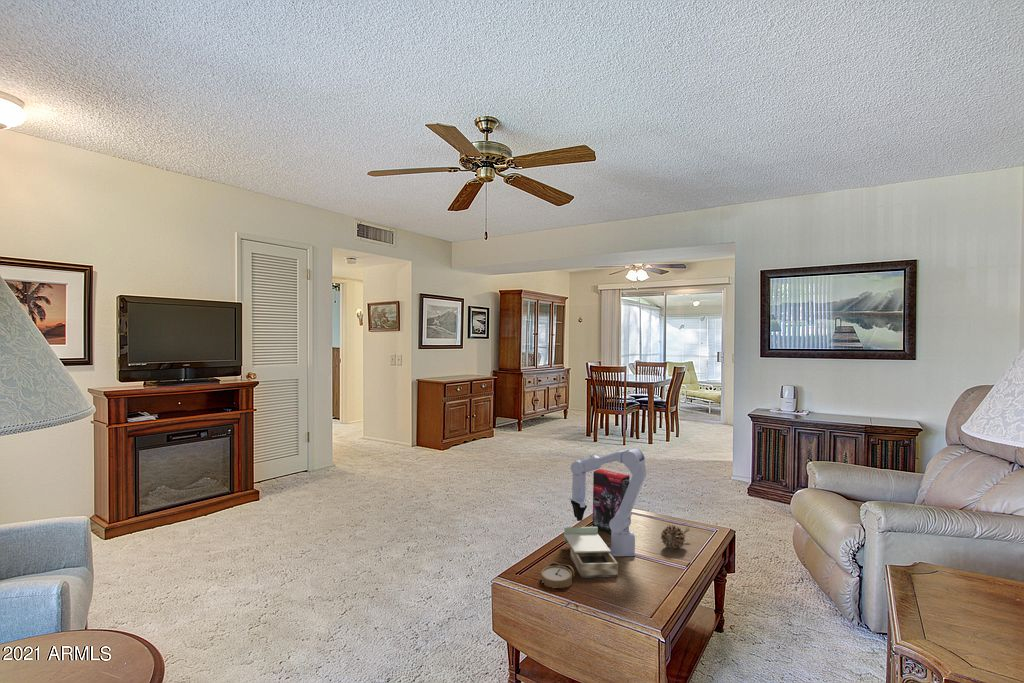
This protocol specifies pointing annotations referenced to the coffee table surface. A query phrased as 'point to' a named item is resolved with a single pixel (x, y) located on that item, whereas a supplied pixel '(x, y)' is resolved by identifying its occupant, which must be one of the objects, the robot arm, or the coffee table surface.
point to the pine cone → (673, 536)
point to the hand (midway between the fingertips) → (578, 518)
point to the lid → (585, 540)
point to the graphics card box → (607, 496)
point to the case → (594, 564)
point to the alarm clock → (557, 575)
